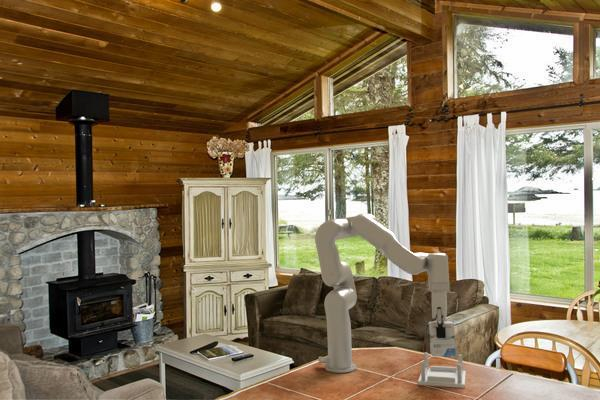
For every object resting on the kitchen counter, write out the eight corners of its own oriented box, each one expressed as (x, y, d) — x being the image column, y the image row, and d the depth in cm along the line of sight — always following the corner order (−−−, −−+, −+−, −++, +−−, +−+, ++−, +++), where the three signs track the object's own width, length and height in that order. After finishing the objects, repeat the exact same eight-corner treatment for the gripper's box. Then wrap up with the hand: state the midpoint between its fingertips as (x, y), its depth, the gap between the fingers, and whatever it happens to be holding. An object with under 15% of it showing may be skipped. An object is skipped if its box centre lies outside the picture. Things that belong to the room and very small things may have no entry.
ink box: (453, 352, 197) (451, 320, 197) (456, 355, 192) (454, 323, 192) (430, 352, 197) (428, 321, 198) (432, 356, 192) (430, 324, 193)
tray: (418, 384, 189) (417, 363, 190) (422, 371, 205) (421, 351, 205) (464, 388, 184) (463, 366, 185) (465, 373, 200) (464, 353, 200)
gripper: (430, 283, 204) (433, 330, 204) (426, 290, 188) (429, 341, 188) (450, 283, 202) (453, 330, 202) (448, 290, 186) (451, 341, 185)
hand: (441, 335), depth 195 cm, fingers closed on ink box, 5 cm apart
